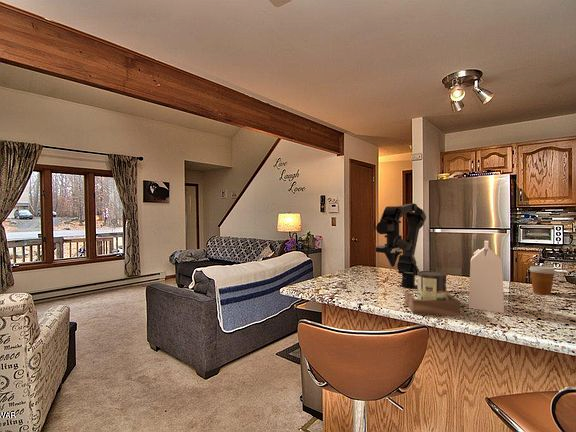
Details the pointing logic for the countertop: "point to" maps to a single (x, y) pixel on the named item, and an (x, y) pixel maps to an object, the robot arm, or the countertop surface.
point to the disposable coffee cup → (542, 279)
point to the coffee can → (431, 285)
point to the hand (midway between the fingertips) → (392, 266)
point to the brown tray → (433, 305)
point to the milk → (486, 281)
